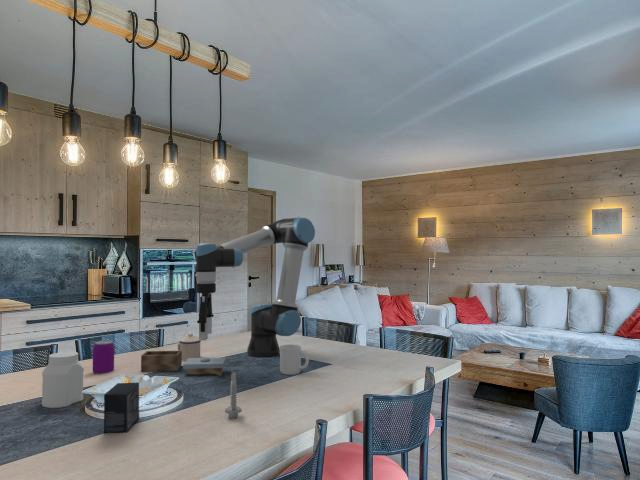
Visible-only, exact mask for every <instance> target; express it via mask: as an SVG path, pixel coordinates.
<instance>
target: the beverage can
mask: <svg viewBox="0 0 640 480" xmlns="http://www.w3.org/2000/svg"><path fill="white" fill-rule="evenodd" d="M114 370H115V345H114V342H113V341H112V340H99V341H96V342H94V345H93V348H92V373H94V375H95V374H107V373H112V372H113V371H114Z"/></svg>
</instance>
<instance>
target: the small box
mask: <svg viewBox="0 0 640 480" xmlns="http://www.w3.org/2000/svg"><path fill="white" fill-rule="evenodd" d="M139 388H140V382H117V383H116V384H115V385H114V386H113V387H111V388H110V389H109V390H108V391H107V392H106V393H105V394H103V433H104V434H122V433H123V434H126V433H128V432H129V431H130V430H131V429H132V428H133V426H134V425H135V424H136V423H137V422H138V420H139V419H140V389H139Z"/></svg>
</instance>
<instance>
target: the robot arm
mask: <svg viewBox="0 0 640 480" xmlns="http://www.w3.org/2000/svg"><path fill="white" fill-rule="evenodd" d="M315 236H316V229H315V225H314V224H313V222H312V221H311V220H310V219H308V218H306V217H300V216H299V217H291V218H282V219H279V220H276V221H274V222H271V223H269V224H266V225H264V226H263V227H261V229H259V230H257V231H255V232H252V233H249V234H246V235H243V236H241V237H237V238H235V239H231V240H229V241H227V242H224V243H222V244H219V245H216V244H215V243H198V244H197V246H196V252H195V253H196V254H195V256H196V257H195V258H196V259H195V260H196V261H195V264H196V267H195V268H196V274H194V277H196V278H195V279H196V284H195V292H196V293H197V294H201V296H200V297H199V308H198V309H199V313H198V320H197V322H196V323H197V324H198V329H199V331H198V333H199V334H198V336H199V337H198V338H199V340H201V341H208V334H209V335H211V334H212V332H213V331H212V327H213V324H212V323H213V322H212V321H213V320H212V318H214V316H215V315H214V314H213V305H212V303H213V302H212V299H213V297H212V294H215V293H216V291H217V284H216V282H217V268H235V267H240V266H242V264H243V262H244V255H245V254H247V253H249V252H252V251H255V250H257V249H259V248H262V247H264V246H273V245H275V244H282V246H283V247H284V255H283V260H282V266H281V271H280V278H279V282H278V287H277V288H278V290H277V296H276V299H275V301H274V302H272V303H271V304H270V303H269V304H267V303H266V304H257V305H253V306H252V307H251V312H250V315H251V317H250V318H251V321H250V322H251V324H250V326H251V327H250V329H251V331H250V334H251V335H250V340H249V343H248V347H247V349H246V352H247V355H248V356H250V357H255V358H268V357H270V358H271V357H275V356H276V357H277V356H278V355H280V346H279V343H278V339H277V336H281V337H291V336H292V335H294V334H296V333H297V332H298V330H299V328H300V327H301V326H300V325H301V321H302V317H301V316H300V313H299V312H298V308H299V307H298V305H297V304H296V299H297V293H298V289H299V288H298V286H299V281H300V274H301V270H302V264H303V257H304V252H305V251H306V250H307V249H308V247H309V243H311V242H313V240H314V239H315Z"/></svg>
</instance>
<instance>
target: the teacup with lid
mask: <svg viewBox="0 0 640 480" xmlns="http://www.w3.org/2000/svg"><path fill="white" fill-rule="evenodd" d="M201 342H202V340H199V337H196V336H195V335H194V334H193V333H188V334H187V336H185V337H184V338H180V339H179V343H178V344H177V351H182V362H183V361H184V362H185V361H186V360H187V359H188V358H201Z"/></svg>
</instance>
